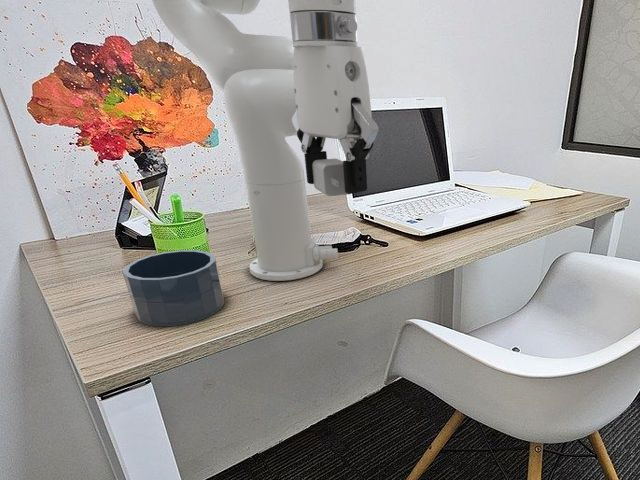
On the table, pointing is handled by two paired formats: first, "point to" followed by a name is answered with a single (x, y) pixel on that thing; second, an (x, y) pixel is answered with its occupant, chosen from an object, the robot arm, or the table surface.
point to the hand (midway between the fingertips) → (336, 186)
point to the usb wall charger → (329, 177)
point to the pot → (174, 287)
